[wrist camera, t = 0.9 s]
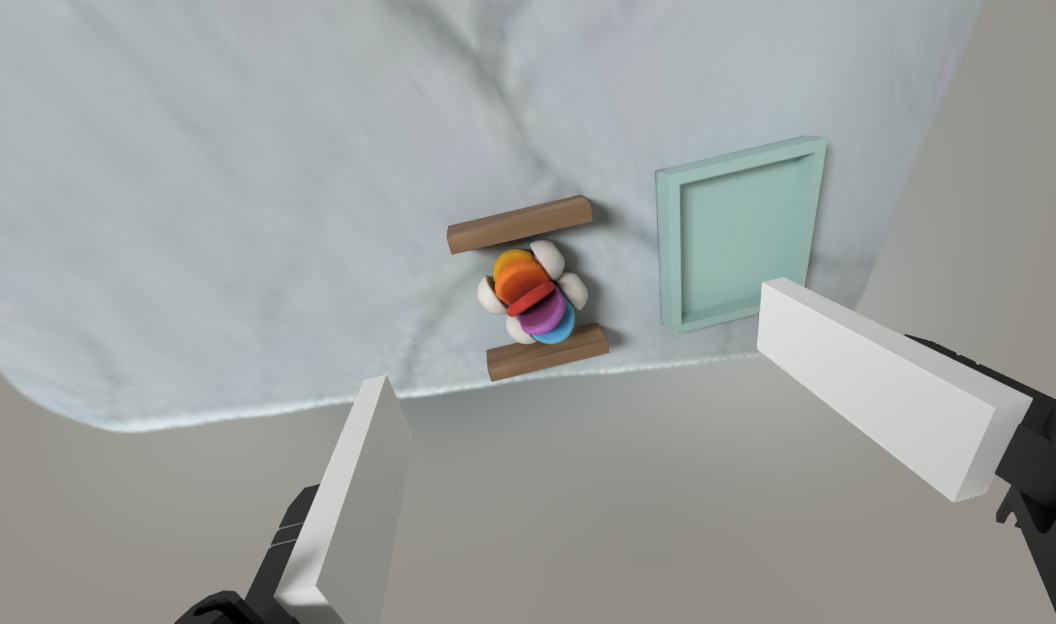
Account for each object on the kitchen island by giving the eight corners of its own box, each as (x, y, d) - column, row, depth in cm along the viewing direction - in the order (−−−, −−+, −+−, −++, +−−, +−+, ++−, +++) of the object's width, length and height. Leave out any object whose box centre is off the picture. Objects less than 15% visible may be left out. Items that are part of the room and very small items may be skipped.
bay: (448, 226, 34) (446, 237, 31) (579, 194, 35) (590, 202, 32) (489, 361, 41) (491, 381, 38) (598, 335, 42) (609, 352, 39)
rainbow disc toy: (537, 219, 35) (552, 243, 29) (591, 294, 40) (615, 329, 33) (465, 275, 37) (464, 309, 30) (525, 341, 41) (535, 383, 35)
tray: (655, 171, 35) (667, 175, 32) (805, 135, 35) (827, 137, 33) (661, 323, 42) (672, 334, 40) (784, 292, 42) (802, 302, 40)
